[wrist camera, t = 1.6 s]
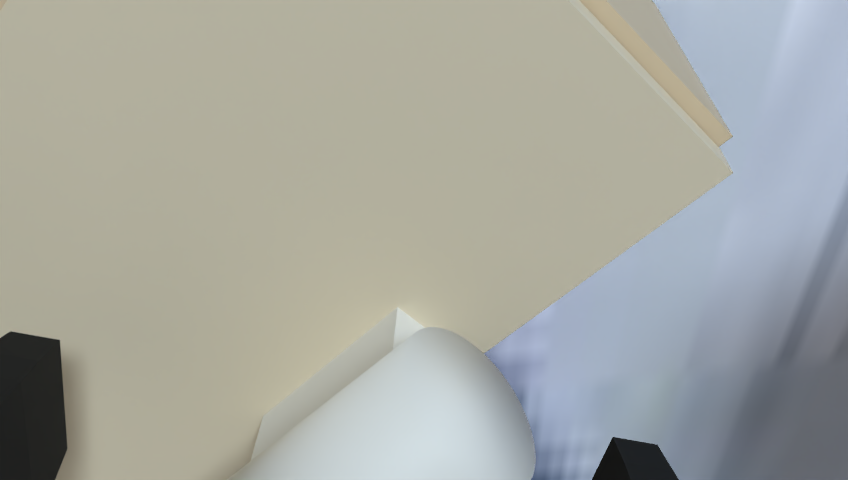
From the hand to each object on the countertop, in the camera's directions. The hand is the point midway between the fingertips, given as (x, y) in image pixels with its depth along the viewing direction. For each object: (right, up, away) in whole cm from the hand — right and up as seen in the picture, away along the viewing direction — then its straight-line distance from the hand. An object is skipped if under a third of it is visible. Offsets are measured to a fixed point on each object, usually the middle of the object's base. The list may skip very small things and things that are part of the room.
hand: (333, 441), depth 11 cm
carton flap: (-2, +3, 0) cm, 3 cm away
